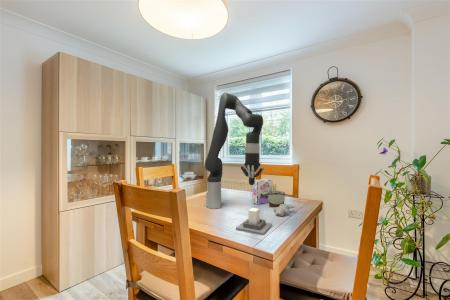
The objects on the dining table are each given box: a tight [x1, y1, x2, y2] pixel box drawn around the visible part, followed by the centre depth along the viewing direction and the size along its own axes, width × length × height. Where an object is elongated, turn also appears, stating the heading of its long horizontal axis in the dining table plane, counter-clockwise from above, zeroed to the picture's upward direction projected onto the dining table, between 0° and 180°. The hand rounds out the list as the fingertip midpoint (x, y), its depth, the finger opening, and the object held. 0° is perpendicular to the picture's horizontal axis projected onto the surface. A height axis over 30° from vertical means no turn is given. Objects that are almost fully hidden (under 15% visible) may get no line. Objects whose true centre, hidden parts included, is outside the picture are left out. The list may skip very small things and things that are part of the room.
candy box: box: [252, 178, 273, 206], centre depth 155 cm, size 14×6×16 cm, turn 117°
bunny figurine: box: [273, 203, 294, 217], centre depth 130 cm, size 10×5×15 cm
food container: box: [267, 190, 287, 209], centre depth 145 cm, size 12×6×10 cm, turn 84°
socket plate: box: [235, 218, 273, 236], centre depth 108 cm, size 14×14×3 cm
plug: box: [248, 207, 261, 225], centre depth 108 cm, size 4×5×8 cm
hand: (251, 184), depth 115 cm, fingers closed
